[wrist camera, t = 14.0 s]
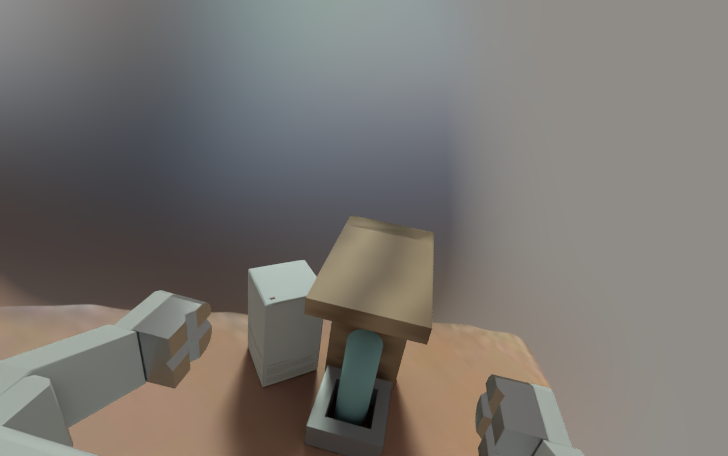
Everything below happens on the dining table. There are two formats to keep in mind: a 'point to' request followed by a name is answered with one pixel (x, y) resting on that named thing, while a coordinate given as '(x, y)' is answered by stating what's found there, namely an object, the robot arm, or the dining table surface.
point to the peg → (358, 376)
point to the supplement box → (282, 322)
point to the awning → (376, 289)
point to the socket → (345, 437)
